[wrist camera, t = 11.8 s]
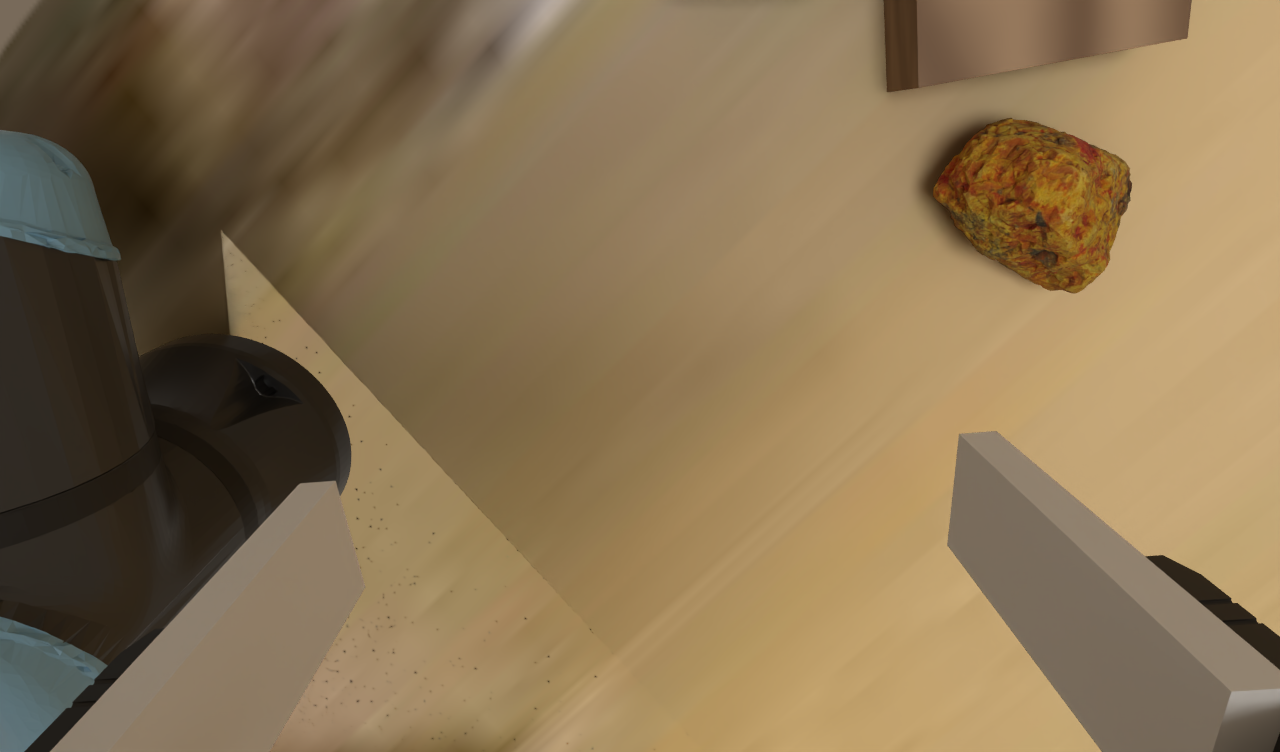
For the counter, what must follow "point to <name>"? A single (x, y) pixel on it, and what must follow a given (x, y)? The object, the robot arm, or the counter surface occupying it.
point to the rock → (1037, 201)
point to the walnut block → (1016, 34)
